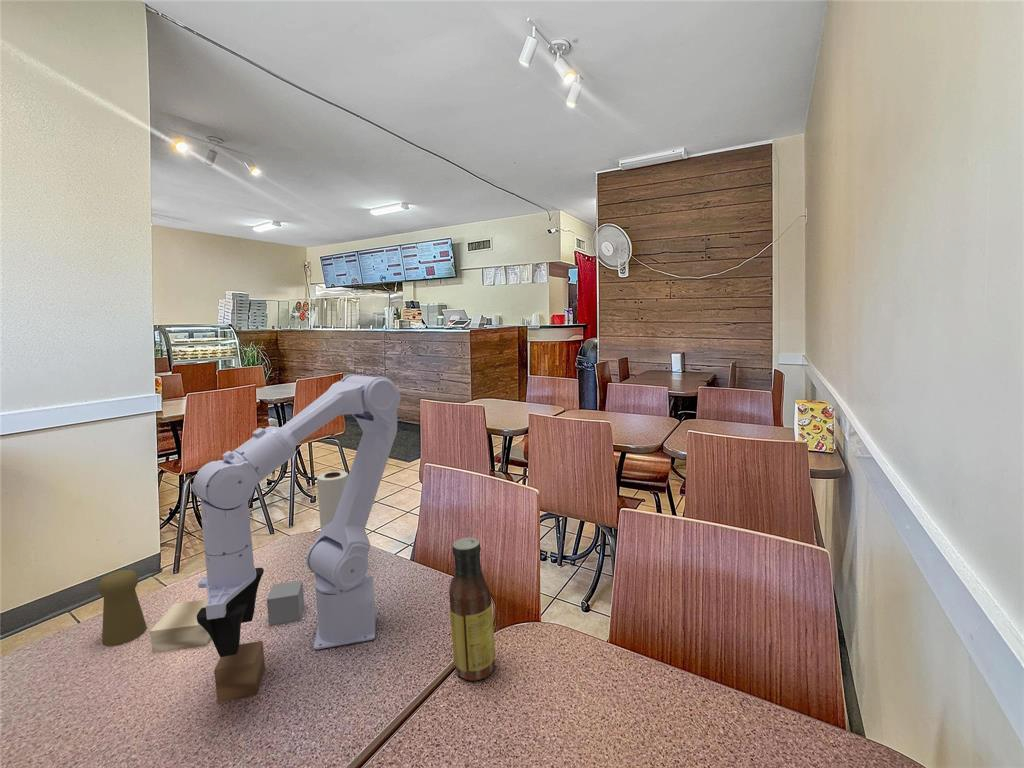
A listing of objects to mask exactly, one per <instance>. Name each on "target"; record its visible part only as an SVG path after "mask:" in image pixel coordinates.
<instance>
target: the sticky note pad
mask: <svg viewBox="0 0 1024 768" xmlns="http://www.w3.org/2000/svg"><path fill="white" fill-rule="evenodd" d="M207 602H208V598H207V599H201V600H200V599H199V600H191V601H190V600H189V601H185V602H184V601H183V602H174V603H173V604H172V605H171V606H170V607H169V609H168V610H167V611H166V612H165V613H164V614H163V615H162V617H161V618H160V619H159V620H158V621H157V622H156V623H155V624H154V626H153V627H152V628H151V629H150V630H149V637H150V645H151V652H152V653H158V652H159V653H160V652H168V651H174V650H175V651H176V650H182V649H191V648H197V647H204V646H205V647H206V646H208V644H209V643H210V641H211V640H212V639H211V637H210V635H209V634H208V632H207V631H206V630H205V629H204V628H203V627H202V626H201V625H200V624H198V622H197V614H198V612H199V611H200V609H201V608H205V607H206V604H207Z"/></svg>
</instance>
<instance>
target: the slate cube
mask: <svg viewBox="0 0 1024 768" xmlns="http://www.w3.org/2000/svg"><path fill="white" fill-rule="evenodd" d="M266 605H267V606H266V607H267V617H268V626H270V627H271V626H278V625H283V624H288V623H289V624H290V623H296V622H300V621H301V618H302V615H303V611H304V608H305V596H304V584H303V580H297V581H290V582H288V581H287V582H284V583H277V584H272V587H271V588H270V591H269V593H268V596H267V598H266Z"/></svg>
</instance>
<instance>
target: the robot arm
mask: <svg viewBox="0 0 1024 768" xmlns="http://www.w3.org/2000/svg"><path fill="white" fill-rule="evenodd" d="M401 398H402V396H401V394H400V392H399V390H398V389H397V386H396V384H395V383H394V381H393V380H391V378H388V377H386V376H370V375H368V376H366V375H360V374H356V373H353V374H347V375H345V376H344V377H343V378H341V379H340V380H339V381H336V382H334V383H333V384H331V386H330V387H329V388H328V389H327V390H326V391H325V392H323V394H321V395H320V396H319V397H317V398H316V399H315V400H314V401H313V402H311V403H310V404H309V405H307V406H306V407H305V408H304V409H302V410H301V411H300V412H299V413H297V414H296V415H295V416H294V417H292V418H291V419H290V420H289V421H287V422H286V423H284V424H283V425H282V426H280V427H279V426H272V425H270V426H267V427H265V428H261V427H258V428H257V429H255V430H254V431H252V435H253V436H252V437H251V438H249V439H248V440H247V441H245V442H244V443H242V444H241V445H240V446H238V447H236V448H235V449H234V450H232V451H230V450H227V451H225V453H222V455H221V456H222V457H223V459H220V460H219V459H218V460H212V461H210V462H207V463H205V464H204V465H202V467H201V468H200V469H198V471H197V475H195V476H194V478H193V483H192V484H191V485H190V487H191V490H192V493H193V494H194V495H195V496H196V497H197V498H199V499H200V508H201V509H200V510H201V511H200V512H201V526H202V539H203V547H204V557H205V559H204V560H205V566H206V575H205V576H203V577H202V578H200V580H199V581H198V582H197V586H198V587H197V588H198V589H206V592H207V599H208V602H207V604H206V607H205V608H201V609H200V611H199V612H198V614H197V622H198V624H200V625H201V626H202V627H203V628H204V629H205V630H206V631H207V632H208V634H209V635H210V637H211V640H212V643H213V645H214V647H215V650H216V651H217V653H218V654H217V655H219V657H225V656H231V655H236V654H237V652H238V649H239V645H240V644H241V642H240V641H241V627H242V623H249V622H252V621H253V619H254V615H255V614H254V613H255V608H256V602H257V593H258V589H259V586H260V581H261V579H262V577H263V574H264V573H265V572H264V568H262V567H256V566H255V563H254V562H255V559H254V552H253V551H254V549H253V540H252V527H251V526H252V525H251V515H250V514H251V513H250V509H249V501H250V499H251V498H252V496H253V494H254V492H255V488H256V486H257V485H258V484H259V483H260V482H261V481H263V480H264V479H266V477H268V476H269V475H271V474H272V473H274V472H275V471H276V470H277V469H279V468H280V467H281V466H283V464H285V463H287V461H289V460H290V459H292V458H293V457H294V456H295V453H296V448H297V444H299V443H300V442H301V441H303V440H304V439H306V438H308V437H309V436H310V435H312V434H313V433H315V432H317V431H318V430H319V429H321V428H323V427H324V426H325V425H327V424H328V423H330V422H331V421H333V420H334V419H336V418H337V417H339V416H343V415H344V416H345V415H352V417H354V418H355V420H356V421H357V423H358V425H359V427H360V429H361V430H362V436H361V439H360V441H359V444H358V445H357V449H356V453H355V455H354V458H353V461H352V465H351V467H350V469H349V470H350V471H349V473H348V478H347V481H346V484H345V487H344V490H343V493H342V495H341V498H340V501H339V504H338V507H337V510H336V513H335V516H334V519H333V521H332V522H330V523H329V524H328V525H326V526H325V527H323V528H322V529H321V528H320V532H319V534H318V537H317V539H316V540H315V541H314V542H313V543H312V545H311V546H310V548H308V551H307V554H306V561H305V562H306V566H307V568H308V569H309V570H310V571H311V572H312V573H313V574H314V581H315V582H314V584H315V585H314V586H315V597H316V611H317V623H318V626H317V630H316V634H315V639H314V643H313V650H316V651H317V650H322V649H326V648H333V647H338V646H339V647H340V646H345V645H350V644H355V643H362V642H367V641H372V640H374V639H375V638H376V621H377V620H378V608H377V607H376V598H375V597H376V596H375V595H376V594H375V581H374V579H375V578H374V576H369V575H368V576H367V572H368V571H369V570H368V569H369V552H370V549H371V542H370V540H369V537H368V535H367V532H366V527H367V524H368V521H369V517H370V514H371V512H372V507H373V506H374V503H375V499H376V496H377V493H378V490H379V487H380V484H381V481H382V477H383V476H384V475H383V474H384V472H385V469H386V466H387V464H388V463H387V462H388V459H389V457H390V454H391V450H392V448H393V446H394V441H395V438H396V435H397V433H398V408H399V405H400V402H401V400H402V399H401Z"/></svg>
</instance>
